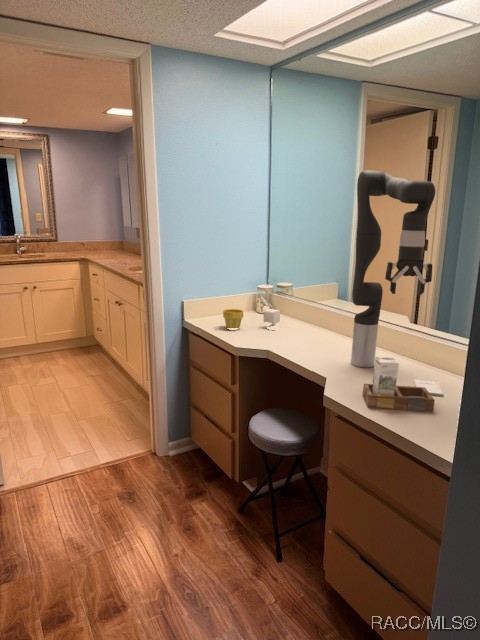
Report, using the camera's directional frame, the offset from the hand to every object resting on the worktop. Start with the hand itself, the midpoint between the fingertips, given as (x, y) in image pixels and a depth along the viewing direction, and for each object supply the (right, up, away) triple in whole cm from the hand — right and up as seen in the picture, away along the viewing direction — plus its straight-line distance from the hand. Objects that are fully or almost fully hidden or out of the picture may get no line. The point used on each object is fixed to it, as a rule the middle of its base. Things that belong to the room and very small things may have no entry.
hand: (406, 294), depth 150 cm
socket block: (-5, -35, -6) cm, 36 cm away
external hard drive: (+10, -33, +7) cm, 36 cm away
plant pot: (-59, -14, +84) cm, 104 cm away
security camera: (-39, -13, +87) cm, 96 cm away
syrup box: (-10, -35, -5) cm, 37 cm away
